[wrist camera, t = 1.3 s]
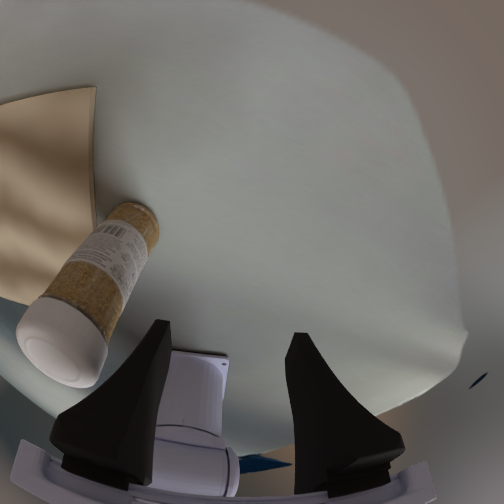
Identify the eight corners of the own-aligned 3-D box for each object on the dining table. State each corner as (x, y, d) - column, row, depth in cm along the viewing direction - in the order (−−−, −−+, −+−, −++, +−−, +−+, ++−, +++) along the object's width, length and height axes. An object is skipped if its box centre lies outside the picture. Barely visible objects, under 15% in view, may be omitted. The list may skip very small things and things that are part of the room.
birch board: (113, 320, 26) (111, 325, 25) (0, 291, 24) (-3, 295, 23) (96, 87, 15) (91, 86, 14) (-33, 116, 13) (-38, 118, 12)
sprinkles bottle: (106, 242, 21) (24, 368, 10) (113, 192, 19) (2, 309, 8) (155, 258, 22) (99, 402, 11) (167, 210, 20) (93, 352, 8)
